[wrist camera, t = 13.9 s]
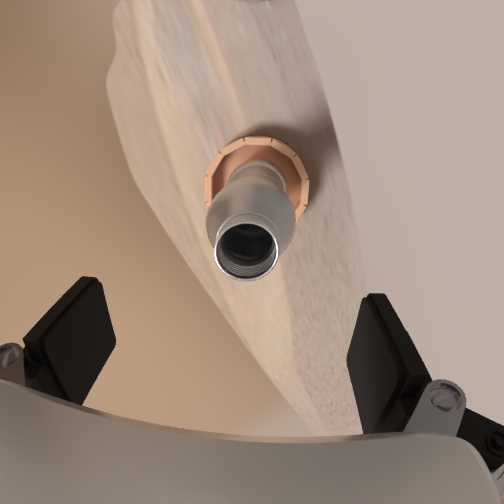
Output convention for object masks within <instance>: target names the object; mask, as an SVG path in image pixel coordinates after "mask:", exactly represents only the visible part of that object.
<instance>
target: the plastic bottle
mask: <svg viewBox="0 0 504 504" xmlns="http://www.w3.org/2000/svg"><path fill="white" fill-rule="evenodd" d="M295 226H296V214H295V210H294V207H293V204H292V202H291V200H290V198H289V197H288V195H287V181H286V178H285V175H284V173H283V172H282V170H281V169H280V168H279V167H278V166H277V165H276V164H274V163H273V162H270V161H268V160H264V159H252V160H248V161H245V162H243V163H242V164H240V165H239V166H238V167H236V168H235V169H234V171H233V172H232V173H231V175H230V177H229V179H228V183H227V186H225V187H224V188H223V189H222V190H221V191H220V192H218V193H217V194H216V196H215V197H214V199H213V200H212V201H211V203H210V206H209V208H208V211H207V215H206V230H207V235H208V238H209V241H210V243H211V245H212V247H213V248H214V256H215V260H216V263H217V265H218V267H219V268H220V269H221V271H222V272H223V273H224V274H226V275H227V276H229V277H230V278H233V279H235V280H239V281H254V280H257V279H260V278H262V277H264V276H265V275H267V274H268V273H269V272H270V271H271V270H272V269H273V268H274V266H275V264H276V263H277V260H278V257H279V255H281V254H282V252H283V251H284V250H285V249H286V248H287V246H288V245H289V243H290V241H291V239H292V238H293V235H294V232H295Z"/></svg>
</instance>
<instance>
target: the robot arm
mask: <svg viewBox="0 0 504 504" xmlns="http://www.w3.org/2000/svg"><path fill="white" fill-rule="evenodd" d="M246 1H264V0H246ZM23 342H24V344H25V347H24V348H22V347H21V346H20V345H19V344H17V343H12V342H11V343H6V344H4V345H1V346H0V504H504V426H503V425H501V424H498V423H496V422H494V421H492V420H490V419H488V418H486V417H484V416H482V415H480V414H478V413H476V412H474V411H472V410H470V409H467V408H466V397H465V394H464V392H463V390H462V389H461V388H460V387H459V386H458V385H457V384H455V383H453V382H451V381H448V380H441V379H440V380H439V379H438V380H434V381H432V379H431V377H430V375H429V372H428V371H427V368H426V366H425V365H424V362H423V361H422V359H421V357H420V355H419V353H418V351H417V349H416V347H415V345H414V344H413V341H412V340H411V338H410V336H409V334H408V332H407V331H406V330H405V328H404V326H403V325H402V323H401V321H400V319H399V317H398V316H397V314H396V312H395V310H394V309H393V307H392V305H391V303H390V302H389V300H388V298H387V296H386V295H385V294H383V293H381V294H380V293H369V294H368V295H367V297H364V298H363V299H362V301H361V305H360V309H359V313H358V317H357V321H356V325H355V329H354V333H353V336H352V340H351V343H350V347H349V350H348V354H347V367H348V371H349V375H350V379H351V383H352V387H353V391H354V395H355V399H356V403H357V408H358V412H359V416H360V421H361V425H362V430H363V434H361V435H347V436H322V437H269V436H249V435H248V436H247V435H236V434H224V433H214V432H206V431H198V430H190V429H184V428H177V427H171V426H165V425H159V424H154V423H149V422H144V421H140V420H135V419H131V418H126V417H122V416H118V415H114V414H110V413H106V412H102V411H99V410H95V409H92V408H88V407H85V406H82V404H83V402H84V400H85V399H86V397H87V395H88V393H89V391H90V389H91V388H92V386H93V384H94V382H95V381H96V379H97V377H98V375H99V373H100V372H101V370H102V368H103V366H104V365H105V363H106V361H107V359H108V358H109V356H110V354H111V353H112V351H113V349H114V348H115V345H116V337H115V334H114V330H113V326H112V323H111V319H110V315H109V312H108V307H107V303H106V299H105V295H104V290H103V286H102V284H101V282H99V281H98V279H97V278H95V277H86V276H82V277H81V278H80V279H79V280H78V281H77V282H76V283H75V284H74V285H73V286H72V287H71V288H70V289H69V290H68V291H67V292H66V293H65V294H64V295H63V296H62V297H61V298H60V299H59V300H58V301H57V302H56V303H55V304H54V305H53V306H52V307H51V308H50V309H49V310H48V312H47V313H46V314H45V315H44V316H43V317H42V318H41V319H40V320H39V321H38V322H37V324H35V326H34V327H33V328H32V329H31V330H30V331H29V332H28V333H27V334H26V336H25V337H24V338H23Z"/></svg>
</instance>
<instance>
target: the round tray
mask: <svg viewBox="0 0 504 504" xmlns="http://www.w3.org/2000/svg"><path fill="white" fill-rule="evenodd" d="M252 159H264V160H268V161H270V162H273V163H274V164H276V165H277V166H278V167H279V168H280V169H281V170H282V172H283V173H284V175H285V178H286V181H287V195H288V197H289V198H290V200H291V202H292V204H293V207H294V210H295V214H296V222H297V220H298V219H299V217H300V216H301V214H302V213H303V212H304V210H305V209H306V205H307V204H308V191H309V179H308V178H309V177H308V175H307V173H306V170H305V167H304V165H303V163H302V161H301V160H300V158H299V157H298V155H297V154H296V153H295V152H294V151H293V150H292V149H291V148H290V147H289V146H287V145H286V144H285V143H283V142H281V141H279V140H277V139H274V138H271V137H267V136H259V135H258V136H247V137H243V138H240V139H237V140H235V141H233V142H231V143H229V144H228V145H226V146H225V147H224V148H223V149H221V150H220V151H219V152H217V154H216V156H215V157H214V159H213V161H212V162H211V164H210V166H209V168H208V169H207V171H206V173H205V174H206V175H205V176H204V191H205V200H207V201H206V202H205V203H206V205H207V207H208V208H209V206H210V203H211V201H212V200H213V199H214V197H215V196H216V194H217V193H218V192H220V191H221V190H222V189H223V188H224V187H225V186H227V183H228V179H229V177H230V175H231V173H232V172H233V171H234V169H235V168H236V167H238V166H239V165H240V164H242V163H243V162H245V161H248V160H252Z"/></svg>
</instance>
